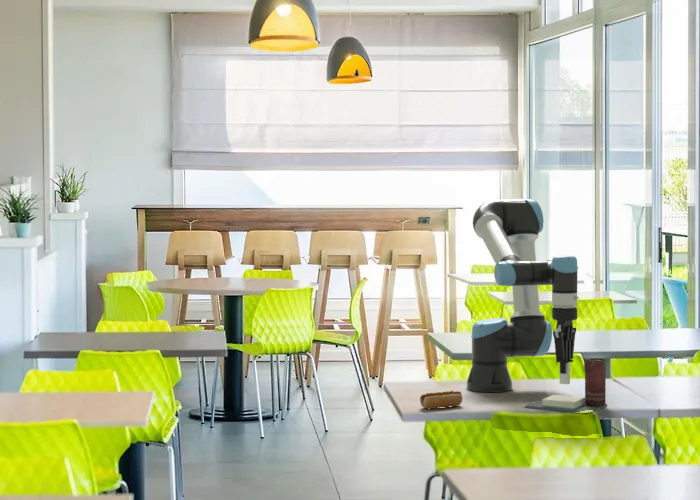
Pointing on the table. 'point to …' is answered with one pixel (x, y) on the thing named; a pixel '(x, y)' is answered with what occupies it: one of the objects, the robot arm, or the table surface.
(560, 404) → the tile
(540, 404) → the mat
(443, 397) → the food
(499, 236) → the robot arm
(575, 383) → the table surface
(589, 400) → the can
